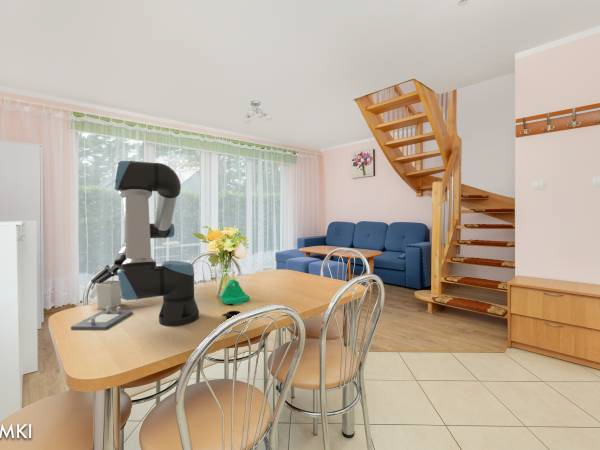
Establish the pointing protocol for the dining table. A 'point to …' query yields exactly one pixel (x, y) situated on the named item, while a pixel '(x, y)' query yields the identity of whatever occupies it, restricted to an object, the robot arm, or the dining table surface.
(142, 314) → the dining table surface
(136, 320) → the dining table surface
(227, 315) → the duct tape
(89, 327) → the grey base plate
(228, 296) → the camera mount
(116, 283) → the block
